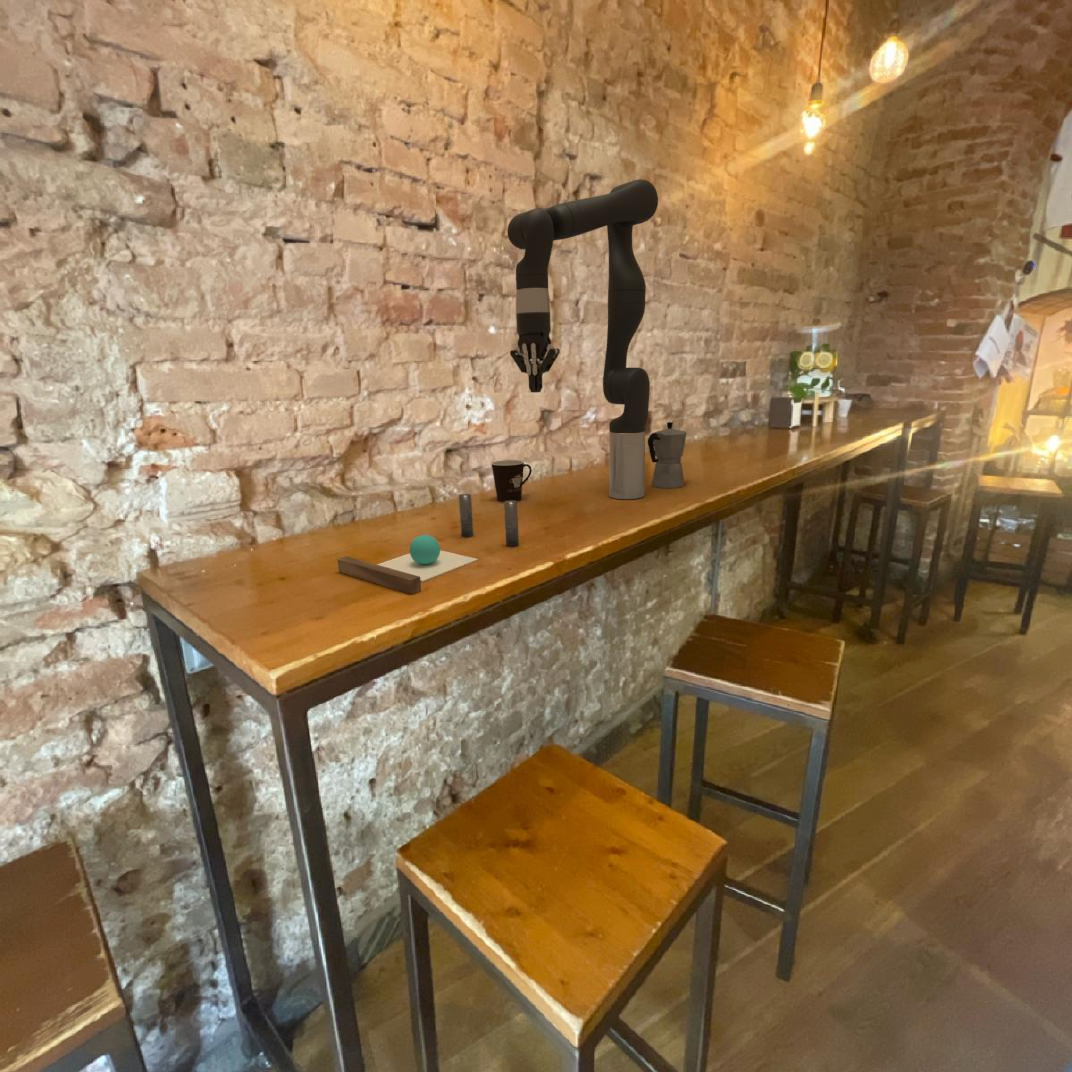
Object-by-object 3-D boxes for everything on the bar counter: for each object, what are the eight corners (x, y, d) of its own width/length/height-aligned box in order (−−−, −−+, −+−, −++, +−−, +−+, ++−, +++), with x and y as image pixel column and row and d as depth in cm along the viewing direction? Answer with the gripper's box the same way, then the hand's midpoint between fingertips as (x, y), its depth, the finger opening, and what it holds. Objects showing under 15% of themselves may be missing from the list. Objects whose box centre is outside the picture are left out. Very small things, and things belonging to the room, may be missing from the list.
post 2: (511, 542, 127) (509, 499, 125) (521, 544, 126) (519, 501, 123) (503, 545, 125) (501, 502, 123) (513, 547, 124) (511, 504, 121)
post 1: (467, 533, 135) (464, 493, 132) (475, 535, 133) (473, 494, 131) (458, 536, 133) (456, 495, 130) (467, 538, 131) (464, 496, 129)
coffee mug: (497, 504, 160) (495, 466, 157) (490, 497, 168) (488, 461, 165) (539, 500, 163) (538, 463, 160) (531, 494, 171) (530, 458, 168)
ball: (416, 567, 117) (430, 543, 119) (436, 572, 114) (450, 547, 116) (398, 552, 113) (413, 527, 115) (418, 557, 110) (434, 531, 112)
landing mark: (427, 548, 125) (427, 547, 125) (478, 560, 117) (477, 559, 117) (371, 567, 115) (371, 566, 114) (422, 581, 106) (422, 580, 106)
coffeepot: (669, 479, 184) (671, 419, 179) (695, 484, 177) (698, 420, 172) (634, 487, 175) (635, 423, 170) (660, 492, 168) (662, 426, 163)
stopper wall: (348, 569, 114) (346, 556, 113) (421, 590, 102) (420, 576, 101) (339, 572, 113) (337, 559, 112) (412, 594, 101) (410, 580, 100)
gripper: (567, 310, 134) (568, 391, 139) (520, 314, 142) (523, 390, 147) (546, 309, 129) (549, 393, 134) (499, 313, 137) (503, 393, 141)
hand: (535, 392), depth 140 cm, fingers closed
